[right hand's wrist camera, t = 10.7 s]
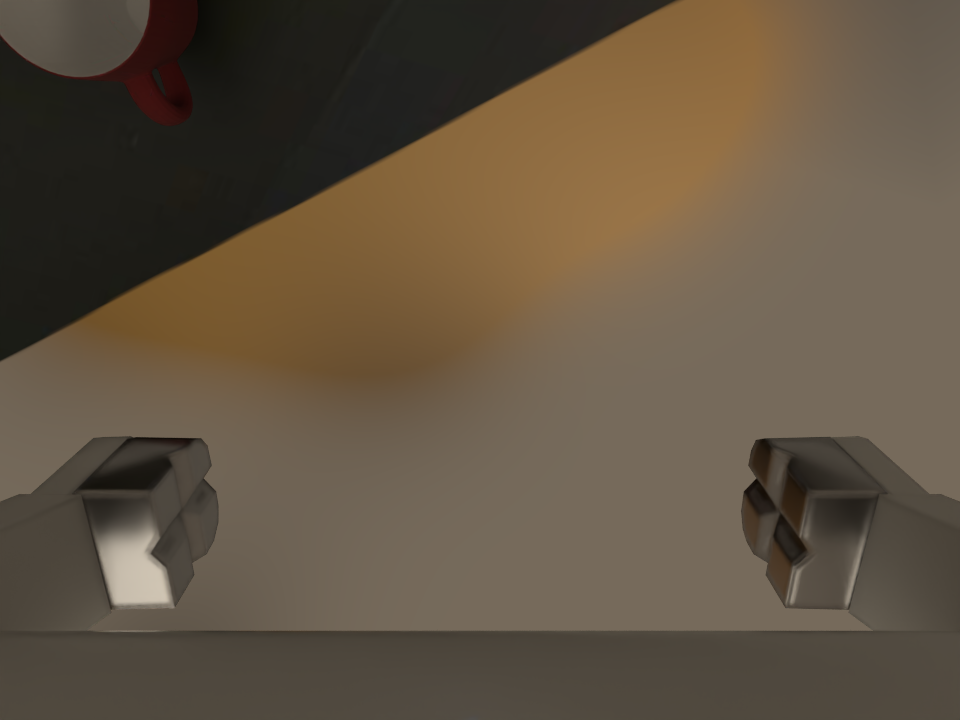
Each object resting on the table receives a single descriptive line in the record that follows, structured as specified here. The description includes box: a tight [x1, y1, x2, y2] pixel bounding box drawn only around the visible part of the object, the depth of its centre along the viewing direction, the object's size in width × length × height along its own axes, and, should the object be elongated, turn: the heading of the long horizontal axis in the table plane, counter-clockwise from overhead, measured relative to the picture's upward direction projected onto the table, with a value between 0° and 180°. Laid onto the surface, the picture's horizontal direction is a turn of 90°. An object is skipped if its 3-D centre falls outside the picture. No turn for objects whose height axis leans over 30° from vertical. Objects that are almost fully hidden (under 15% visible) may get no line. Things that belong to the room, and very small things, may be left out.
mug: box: [0, 0, 198, 126], centre depth 35 cm, size 11×8×10 cm
